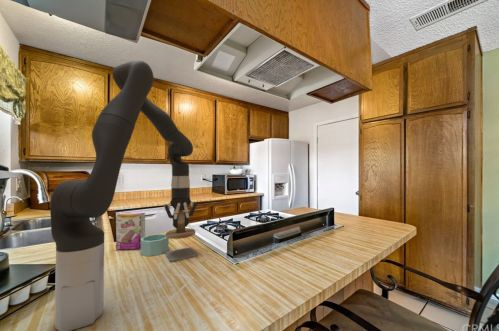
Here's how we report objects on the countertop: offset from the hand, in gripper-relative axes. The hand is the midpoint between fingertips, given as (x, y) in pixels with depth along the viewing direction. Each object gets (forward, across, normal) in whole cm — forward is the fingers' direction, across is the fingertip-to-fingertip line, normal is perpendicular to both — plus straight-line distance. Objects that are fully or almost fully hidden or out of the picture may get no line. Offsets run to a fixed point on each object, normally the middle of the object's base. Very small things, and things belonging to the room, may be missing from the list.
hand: (180, 226), depth 90 cm
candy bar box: (+12, -18, +21) cm, 30 cm away
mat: (+12, 0, 0) cm, 12 cm away
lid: (+3, 0, 0) cm, 3 cm away
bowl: (+12, -9, +11) cm, 18 cm away
